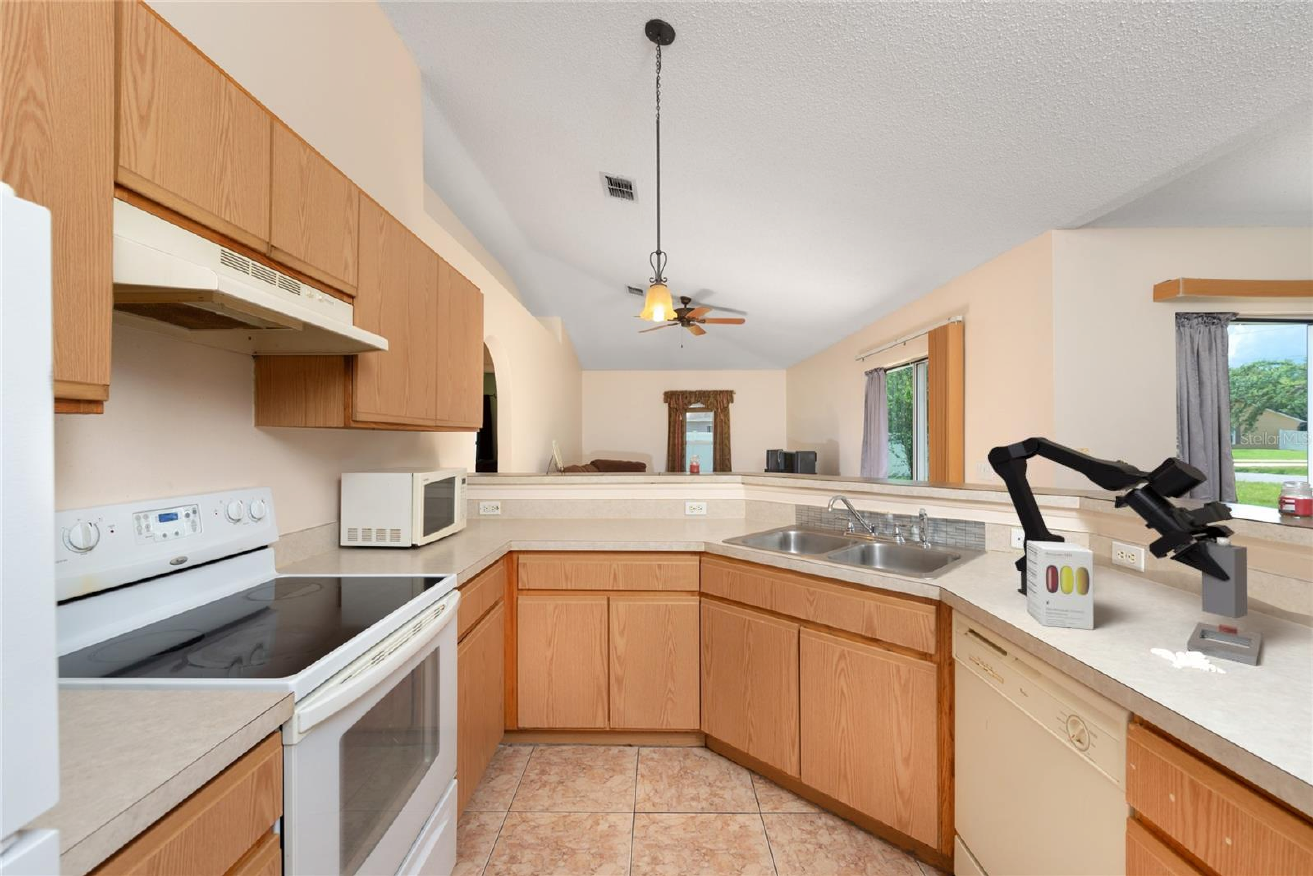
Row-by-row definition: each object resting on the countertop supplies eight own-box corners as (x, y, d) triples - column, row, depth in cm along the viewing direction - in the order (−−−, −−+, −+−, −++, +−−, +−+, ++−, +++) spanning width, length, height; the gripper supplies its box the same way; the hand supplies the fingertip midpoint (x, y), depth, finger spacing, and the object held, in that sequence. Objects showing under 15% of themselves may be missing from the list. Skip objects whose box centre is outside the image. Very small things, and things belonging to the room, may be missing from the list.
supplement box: (1042, 626, 109) (1040, 548, 109) (1025, 611, 118) (1024, 539, 118) (1096, 630, 106) (1094, 550, 106) (1075, 615, 115) (1073, 541, 115)
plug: (1202, 611, 99) (1201, 537, 99) (1214, 607, 100) (1213, 535, 100) (1235, 618, 95) (1234, 541, 95) (1247, 615, 96) (1246, 539, 96)
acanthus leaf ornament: (1150, 655, 96) (1150, 645, 96) (1196, 659, 94) (1196, 649, 94) (1177, 672, 89) (1177, 661, 89) (1228, 677, 87) (1227, 666, 87)
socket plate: (1255, 665, 89) (1255, 654, 89) (1187, 650, 96) (1187, 639, 96) (1261, 641, 99) (1261, 631, 99) (1198, 629, 106) (1198, 619, 106)
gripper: (1168, 490, 98) (1252, 560, 88) (1220, 485, 104) (1303, 549, 94) (1119, 524, 105) (1191, 593, 95) (1170, 517, 112) (1242, 580, 102)
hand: (1234, 578), depth 96 cm, fingers closed on plug, 4 cm apart
